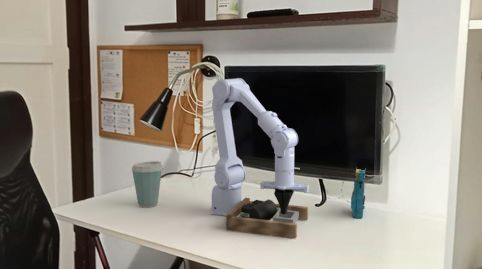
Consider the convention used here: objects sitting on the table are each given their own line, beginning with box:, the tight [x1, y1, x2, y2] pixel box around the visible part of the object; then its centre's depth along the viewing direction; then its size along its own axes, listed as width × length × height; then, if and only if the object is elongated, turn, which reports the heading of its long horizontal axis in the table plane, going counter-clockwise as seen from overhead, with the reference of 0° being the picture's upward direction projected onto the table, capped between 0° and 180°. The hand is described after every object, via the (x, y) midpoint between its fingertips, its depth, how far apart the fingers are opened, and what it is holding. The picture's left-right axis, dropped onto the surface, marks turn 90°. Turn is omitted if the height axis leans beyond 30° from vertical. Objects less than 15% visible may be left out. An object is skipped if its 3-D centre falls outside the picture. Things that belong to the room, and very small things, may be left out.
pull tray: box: [237, 208, 299, 223], centre depth 156 cm, size 17×14×4 cm
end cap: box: [242, 199, 277, 220], centre depth 157 cm, size 10×7×7 cm
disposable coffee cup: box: [131, 160, 164, 208], centre depth 175 cm, size 11×11×15 cm
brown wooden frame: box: [225, 197, 309, 239], centre depth 156 cm, size 21×18×5 cm
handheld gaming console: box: [350, 168, 366, 220], centre depth 165 cm, size 10×4×15 cm, turn 164°
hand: (284, 213), depth 154 cm, fingers closed
